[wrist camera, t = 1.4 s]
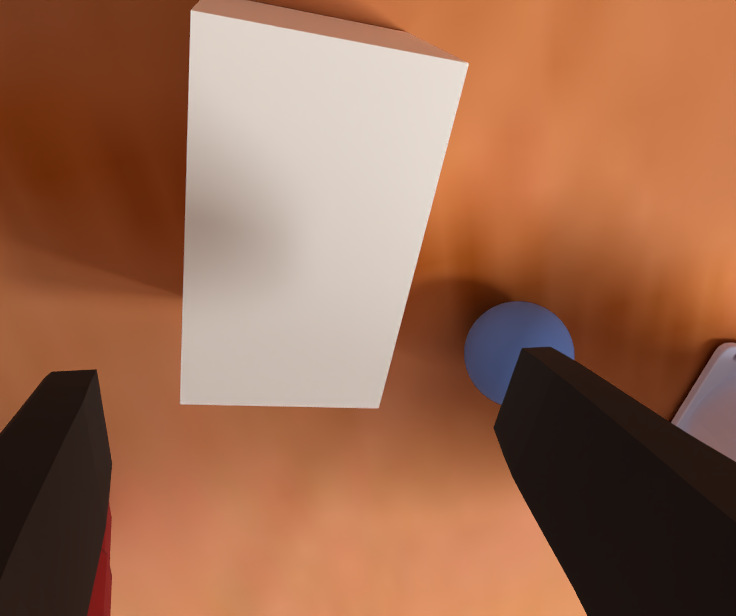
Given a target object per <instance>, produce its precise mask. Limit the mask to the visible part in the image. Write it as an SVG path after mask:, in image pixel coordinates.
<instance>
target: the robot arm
mask: <svg viewBox="0 0 736 616" xmlns="http://www.w3.org/2000/svg"><path fill="white" fill-rule="evenodd" d="M494 430H495V433H496V436H497V438H498V441H499V444H500V447H501V449H502V452H503V455H504V457H505V460H506V462H507V465H508V467H509V470H510V472H511V474H512V477H513V479H514V481H515V483H516V484H517V486H518V488H519V490H520V492H521V494H522V496H523V498H524V499H525V501H526V503H527V505H528V507H529V509H530V510H531V512H532V514H533V516H534V518H535V520H536V521H537V523H538V525H539V527H540V529H541V530H542V532H543V534H544V536H545V538H546V539H547V541H548V543H549V545H550V547H551V548H552V550H553V552H554V554H555V556H556V557H557V559H558V561H559V563H560V565H561V566H562V568H563V570H564V572H565V574H566V575H567V577H568V579H569V581H570V583H571V584H572V586H573V588H574V590H575V592H576V594H577V596H578V598H579V600H580V602H581V604H582V606H583V608H584V610H585V612H586V614H587V616H736V343H724V344H722V345H720V346H719V347H718V348H717V349H716V350H715V352H714V353H713V355H712V357H711V358H710V360H709V361H708V363H707V365H706V366H705V368H704V370H703V371H702V373H701V374H700V376H699V378H698V379H697V381H696V383H695V384H694V386H693V387H692V389H691V391H690V392H689V394H688V396H687V397H686V399H685V400H684V402H683V404H682V405H681V407H680V408H679V410H678V412H677V413H676V415H675V417H674V418H673V420H672V421H671V423H670V422H669V421H667V420H666V419H664V418H663V417H661V416H659V415H658V414H656V413H655V412H653V411H652V410H650V409H649V408H647V407H646V406H644V405H642V404H641V403H639V402H638V401H636V400H635V399H633V398H632V397H630V396H629V395H627V394H626V393H624V392H623V391H621V390H619V389H618V388H616V387H615V386H613V385H612V384H610V383H609V382H607V381H606V380H604V379H603V378H601V377H600V376H598V375H597V374H595V373H593V372H592V371H590V370H589V369H587V368H586V367H584V366H583V365H581V364H579V363H578V362H576V361H575V360H573V359H571V358H570V357H568V356H566V355H565V354H563V353H561V352H559V351H558V350H556V349H554V348H552V347H532V348H522V349H521V351H520V354H519V357H518V360H517V363H516V366H515V368H514V371H513V374H512V377H511V380H510V383H509V385H508V388H507V391H506V394H505V397H504V400H503V402H502V405H501V408H500V411H499V414H498V417H497V419H496V422H495V425H494ZM111 469H112V460H111V454H110V448H109V442H108V436H107V430H106V424H105V418H104V412H103V406H102V400H101V394H100V387H99V381H98V375H97V370H77V371H57V372H51V373H50V374H48V375H47V376H46V377H45V378H44V379H43V380H42V382H41V383H40V384H39V385H38V387H37V388H36V389H35V391H34V392H33V393H32V394H31V396H30V397H29V398H28V400H27V401H26V402H25V403H24V405H23V406H22V407H21V408H20V410H19V411H18V412H17V413H16V415H15V416H14V417H13V418H12V420H11V421H10V422H9V423H8V424H7V426H6V427H5V428H4V429H3V431H2V432H1V433H0V616H87V614H88V609H89V605H90V600H91V595H92V591H93V586H94V581H95V577H96V572H97V567H98V563H99V558H100V553H101V548H102V544H103V539H104V534H105V529H106V522H107V513H108V503H109V492H110V481H111Z"/></svg>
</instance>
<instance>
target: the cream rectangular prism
mask: <svg viewBox="0 0 736 616" xmlns="http://www.w3.org/2000/svg"><path fill="white" fill-rule="evenodd" d="M468 65H469V63H467V62H465V61H463V60H461V59H459V58H457V57H455V56H453V55H451V54H449V53H447V52H445V51H443V50H442V49H440V48H438V47H436V46H434V45H432V44H430V43H428V42H426V41H424V40H422V39H420V38H418V37H416V36H414V35H412V34H410V33H408V32H404V31H399V30H394V29H389V28H384V27H379V26H374V25H369V24H364V23H359V22H354V21H349V20H344V19H339V18H334V17H329V16H324V15H319V14H314V13H309V12H304V11H299V10H294V9H289V8H284V7H279V6H274V5H269V4H264V3H259V2H254V1H249V0H199V2H198V3H197V4H196V5H195V6H194V7H193V8H192V9H191V20H190V56H189V93H188V129H187V166H186V203H185V239H184V276H183V312H182V349H181V385H180V404H190V405H239V406H287V407H336V408H379V405H380V401H381V398H382V394H383V390H384V386H385V382H386V378H387V375H388V371H389V367H390V363H391V359H392V355H393V352H394V348H395V344H396V340H397V336H398V333H399V329H400V325H401V321H402V317H403V313H404V310H405V306H406V302H407V298H408V294H409V290H410V287H411V283H412V279H413V275H414V271H415V268H416V264H417V260H418V256H419V252H420V248H421V245H422V241H423V237H424V233H425V229H426V225H427V222H428V218H429V214H430V210H431V206H432V203H433V199H434V195H435V191H436V187H437V183H438V180H439V176H440V172H441V168H442V164H443V160H444V157H445V153H446V149H447V145H448V141H449V138H450V134H451V130H452V126H453V122H454V118H455V115H456V111H457V107H458V103H459V99H460V95H461V92H462V88H463V84H464V80H465V76H466V73H467V69H468Z"/></svg>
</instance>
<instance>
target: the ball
mask: <svg viewBox="0 0 736 616" xmlns="http://www.w3.org/2000/svg"><path fill="white" fill-rule="evenodd" d="M532 347H552V348H554V349H556V350H558V351H559V352H561V353H563V354H565V355H566V356H568V357H570V358H571V359H573V360H574V359H575V356H574V346H573V342H572V338H571V336H570V334H569V332H568V329H567V328H566V327H565V325H564V324H563V322H562V321H561V320H560V319H559V318H558V317H557V316H556V315H555V314H554V313H552V312H551V311H549V310H548V309H546V308H544V307H542V306H540V305H537V304H534V303H530V302H524V301H514V302H506V303H502V304H499V305H497V306H494V307H492V308H491V309H489V310H487V311H486V312H484V313H483V314H482V315H481V316H480V317H479V318H478V319H477V320H476V321H475V323H474V324H473V325H472V327H471V329H470V331H469V333H468V335H467V338H466V342H465V347H464V360H465V365H466V369H467V372H468V374H469V377H470V379H471V380H472V382H473V383H474V385H475V386H476V388H477V389H478V390H479V391H480V392H481V393H482V394H483V395H485V396H486V397H487V398H489V399H490V400H492V401H494V402H496V403H498V404H500V405H502V402H503V400H504V397H505V394H506V391H507V388H508V385H509V383H510V380H511V377H512V374H513V371H514V368H515V366H516V363H517V360H518V357H519V354H520V351H521V349H522V348H532Z"/></svg>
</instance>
